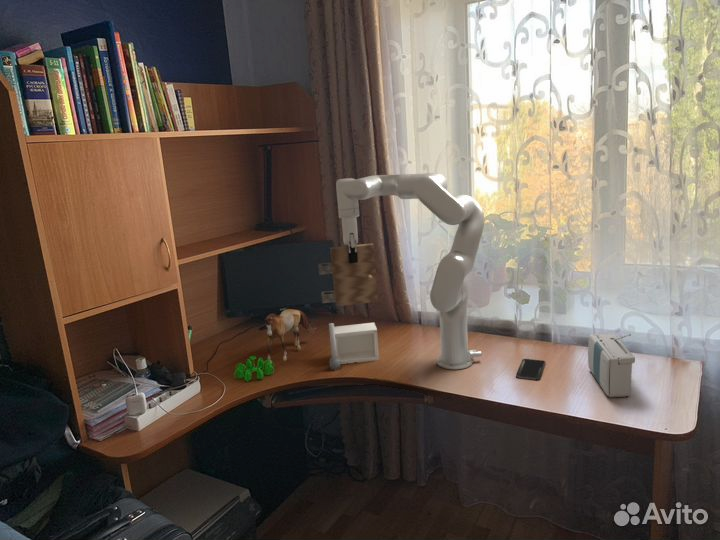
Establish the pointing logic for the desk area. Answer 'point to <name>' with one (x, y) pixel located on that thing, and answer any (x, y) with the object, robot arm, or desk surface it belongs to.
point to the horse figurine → (286, 327)
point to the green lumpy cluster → (254, 369)
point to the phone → (530, 369)
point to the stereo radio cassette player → (610, 364)
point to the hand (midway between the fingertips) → (353, 261)
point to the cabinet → (353, 344)
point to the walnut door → (351, 276)
